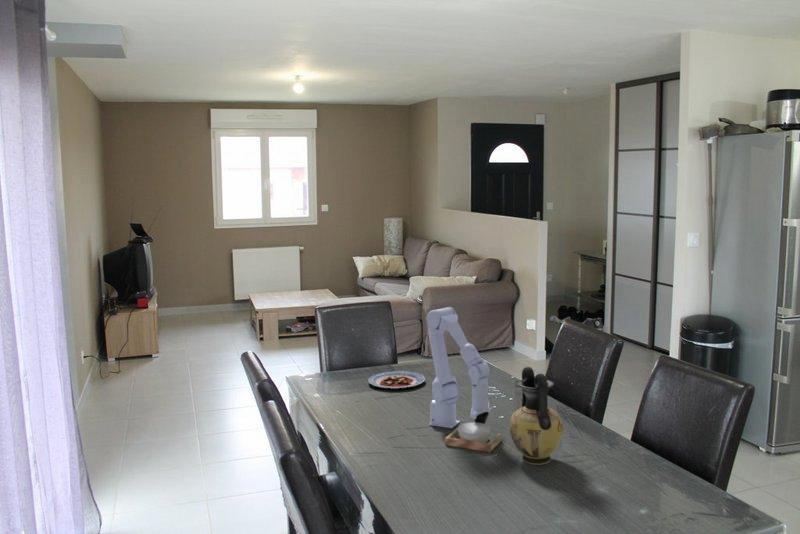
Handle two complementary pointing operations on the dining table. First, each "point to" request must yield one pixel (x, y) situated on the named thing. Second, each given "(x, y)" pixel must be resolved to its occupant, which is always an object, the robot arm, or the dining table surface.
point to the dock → (471, 442)
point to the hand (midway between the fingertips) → (480, 432)
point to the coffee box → (518, 396)
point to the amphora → (535, 420)
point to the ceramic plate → (396, 379)
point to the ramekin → (474, 432)
